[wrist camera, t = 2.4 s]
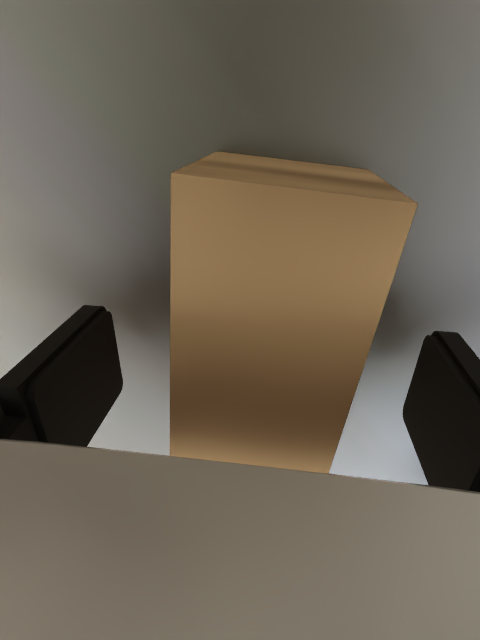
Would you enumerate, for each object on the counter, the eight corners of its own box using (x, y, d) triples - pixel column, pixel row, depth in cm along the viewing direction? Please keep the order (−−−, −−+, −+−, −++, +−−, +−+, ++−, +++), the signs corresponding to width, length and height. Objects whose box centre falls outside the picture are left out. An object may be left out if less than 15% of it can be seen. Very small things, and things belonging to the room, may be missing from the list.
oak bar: (217, 150, 11) (170, 173, 7) (367, 169, 11) (418, 203, 6) (202, 399, 16) (169, 504, 12) (304, 415, 16) (309, 529, 11)
